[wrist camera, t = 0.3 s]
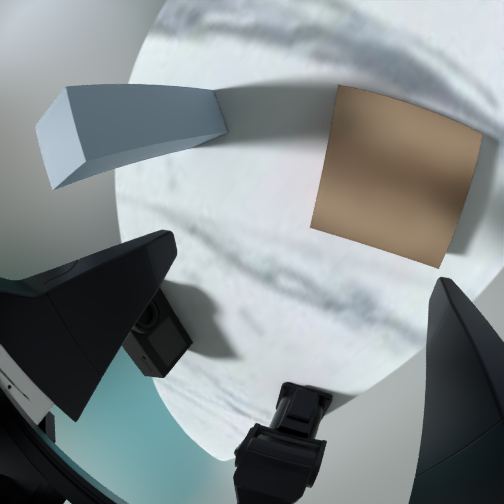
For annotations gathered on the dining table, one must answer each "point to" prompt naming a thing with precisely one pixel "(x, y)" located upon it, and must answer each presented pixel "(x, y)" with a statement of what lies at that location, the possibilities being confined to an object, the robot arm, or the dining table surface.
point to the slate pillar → (122, 127)
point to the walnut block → (394, 175)
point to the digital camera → (157, 338)
